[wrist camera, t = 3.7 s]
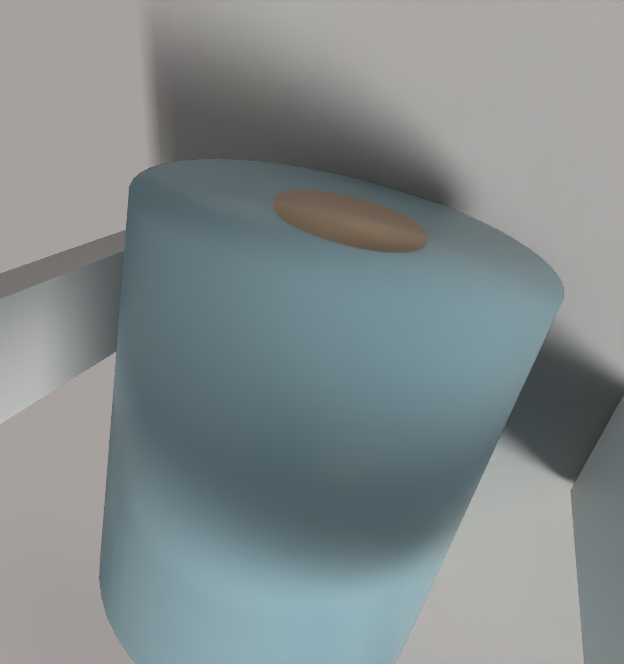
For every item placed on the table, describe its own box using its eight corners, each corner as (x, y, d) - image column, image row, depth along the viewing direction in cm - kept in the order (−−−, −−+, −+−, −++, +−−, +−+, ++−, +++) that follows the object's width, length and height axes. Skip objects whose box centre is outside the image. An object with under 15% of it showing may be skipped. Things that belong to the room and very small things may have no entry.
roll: (272, 144, 14) (15, 174, 8) (577, 243, 12) (546, 389, 6) (220, 424, 17) (19, 591, 11) (444, 538, 15) (340, 814, 9)
